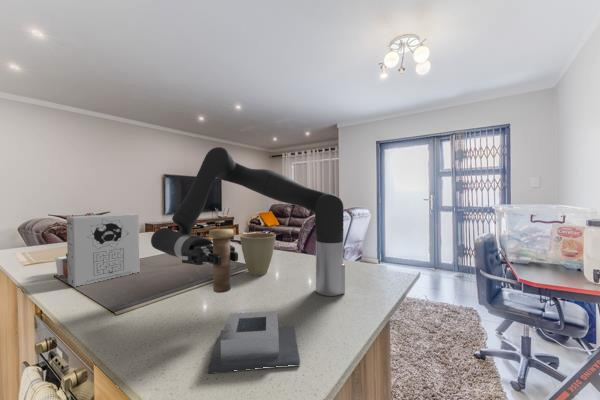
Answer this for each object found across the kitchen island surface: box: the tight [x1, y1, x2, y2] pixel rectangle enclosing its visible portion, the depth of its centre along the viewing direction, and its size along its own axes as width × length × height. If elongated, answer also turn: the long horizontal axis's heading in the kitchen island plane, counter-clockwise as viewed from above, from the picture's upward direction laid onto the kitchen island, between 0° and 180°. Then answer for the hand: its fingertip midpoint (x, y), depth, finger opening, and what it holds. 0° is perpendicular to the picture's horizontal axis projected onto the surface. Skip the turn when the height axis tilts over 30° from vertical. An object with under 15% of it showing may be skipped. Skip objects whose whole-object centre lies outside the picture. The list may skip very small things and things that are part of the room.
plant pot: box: [239, 232, 277, 276], centre depth 109 cm, size 15×15×16 cm
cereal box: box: [66, 212, 141, 288], centre depth 103 cm, size 22×8×25 cm, turn 145°
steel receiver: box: [207, 310, 301, 374], centre depth 55 cm, size 17×13×5 cm
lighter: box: [62, 252, 68, 279], centre depth 106 cm, size 8×3×10 cm, turn 168°
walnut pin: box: [208, 228, 234, 294], centre depth 63 cm, size 6×6×14 cm
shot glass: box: [55, 255, 67, 276], centre depth 108 cm, size 7×7×7 cm
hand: (228, 258), depth 61 cm, fingers closed on walnut pin, 4 cm apart
